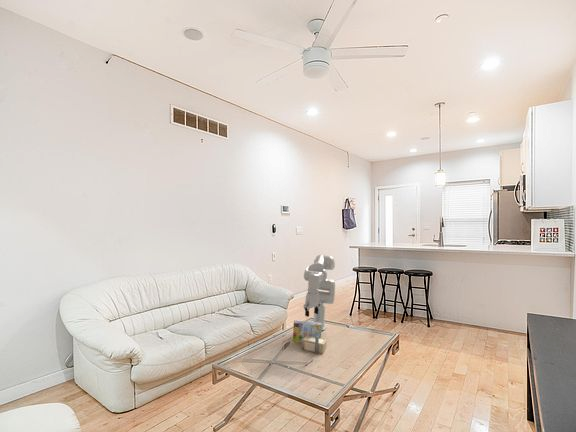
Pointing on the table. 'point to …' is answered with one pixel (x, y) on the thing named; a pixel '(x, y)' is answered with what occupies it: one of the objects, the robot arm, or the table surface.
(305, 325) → the snack box
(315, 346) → the flap
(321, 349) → the carton
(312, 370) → the table surface
